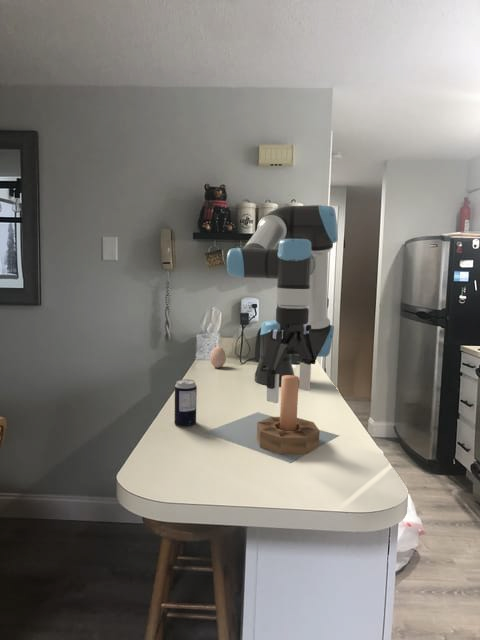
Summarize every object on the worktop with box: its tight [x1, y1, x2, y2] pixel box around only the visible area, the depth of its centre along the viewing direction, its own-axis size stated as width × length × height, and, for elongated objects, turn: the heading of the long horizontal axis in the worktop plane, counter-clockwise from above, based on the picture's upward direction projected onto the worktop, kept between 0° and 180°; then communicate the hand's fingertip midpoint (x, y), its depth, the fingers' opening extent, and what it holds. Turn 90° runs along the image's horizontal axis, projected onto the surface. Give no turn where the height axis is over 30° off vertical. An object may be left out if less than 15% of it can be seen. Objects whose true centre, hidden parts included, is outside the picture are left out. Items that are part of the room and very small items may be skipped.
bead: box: [257, 416, 321, 455], centre depth 107 cm, size 14×14×4 cm
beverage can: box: [174, 378, 198, 428], centre depth 118 cm, size 6×6×12 cm
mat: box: [204, 411, 340, 464], centre depth 113 cm, size 22×26×1 cm
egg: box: [209, 345, 227, 369], centre depth 187 cm, size 7×7×9 cm
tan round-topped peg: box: [279, 375, 299, 431], centre depth 106 cm, size 4×4×16 cm
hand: (289, 395), depth 106 cm, fingers open, 13 cm apart
